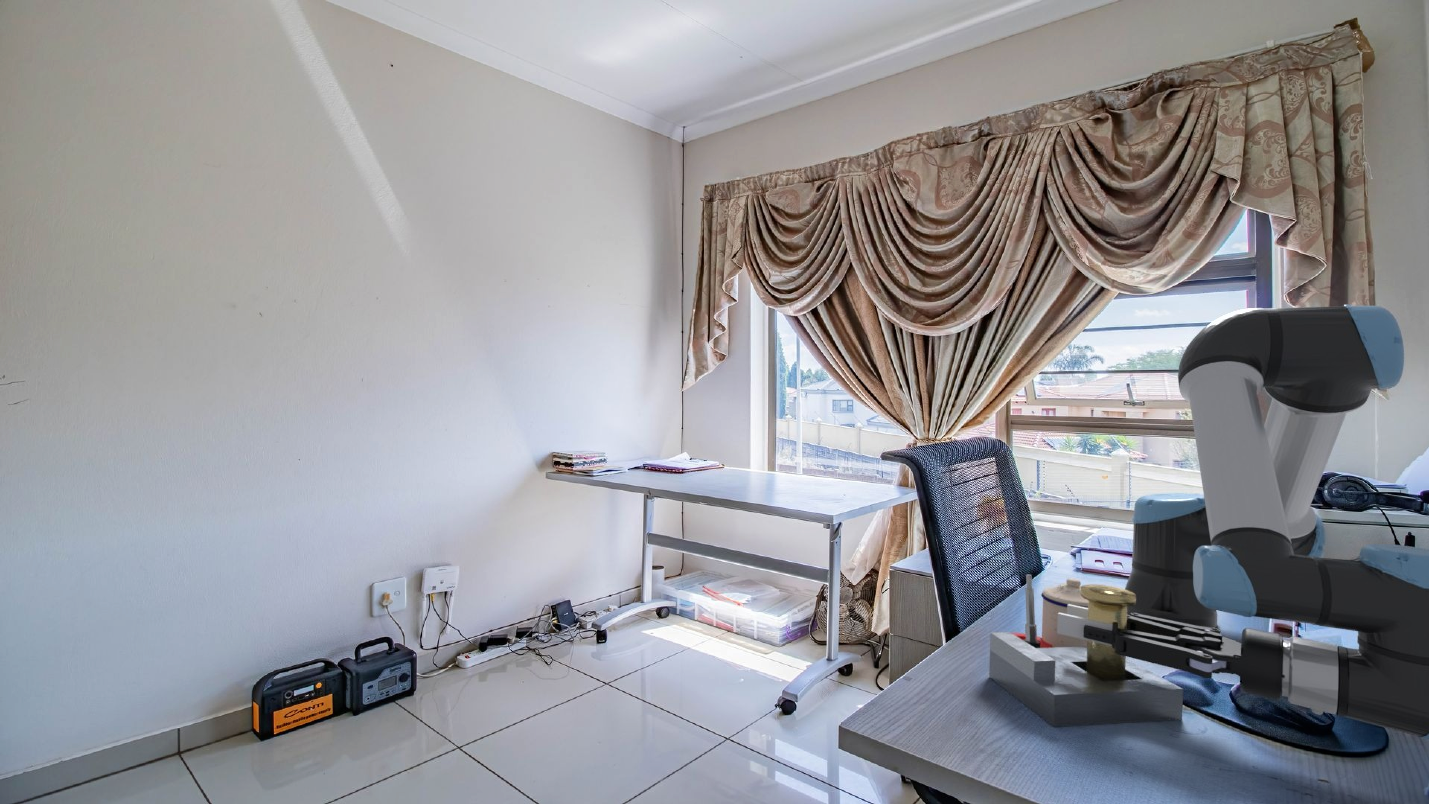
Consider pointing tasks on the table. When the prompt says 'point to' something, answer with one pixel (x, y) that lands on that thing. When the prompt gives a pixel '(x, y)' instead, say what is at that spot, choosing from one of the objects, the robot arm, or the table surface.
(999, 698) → the table surface
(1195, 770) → the table surface
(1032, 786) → the table surface
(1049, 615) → the teacup with lid
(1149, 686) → the jig
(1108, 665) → the brass flanged peg
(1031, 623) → the tow hook
